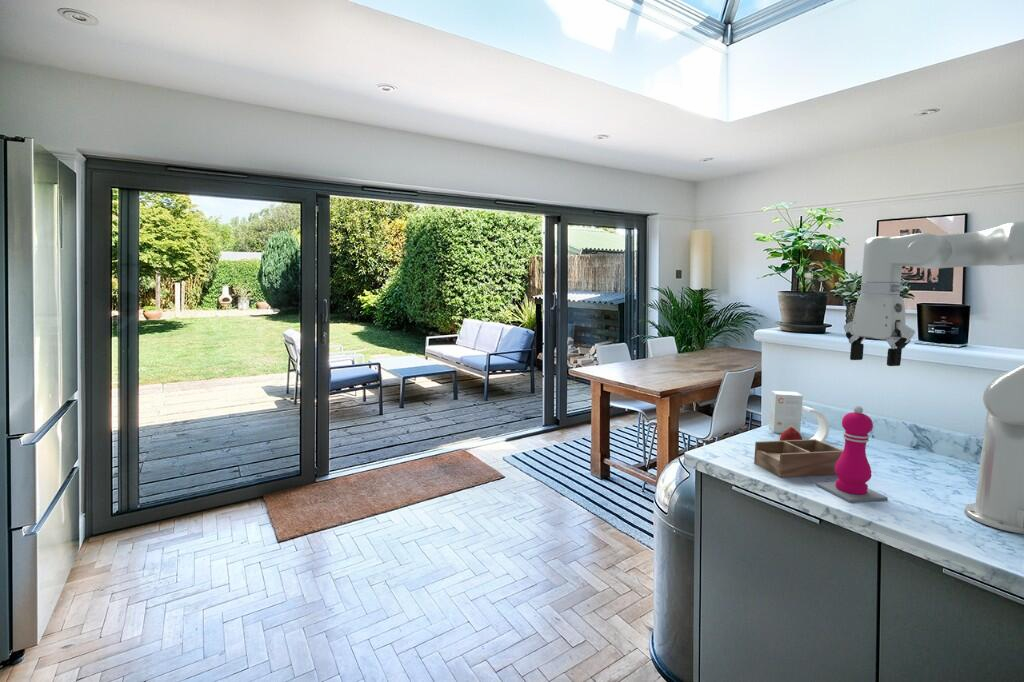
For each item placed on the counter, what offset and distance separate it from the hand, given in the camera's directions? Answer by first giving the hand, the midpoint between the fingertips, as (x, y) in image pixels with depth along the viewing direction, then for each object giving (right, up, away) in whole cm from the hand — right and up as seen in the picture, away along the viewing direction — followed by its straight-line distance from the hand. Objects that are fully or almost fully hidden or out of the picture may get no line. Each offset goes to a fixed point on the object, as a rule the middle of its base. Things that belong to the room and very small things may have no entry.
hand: (874, 362), depth 123 cm
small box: (+5, -25, +50) cm, 56 cm away
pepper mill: (-6, -30, -1) cm, 31 cm away
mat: (-6, -30, -1) cm, 31 cm away
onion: (-5, -27, +27) cm, 39 cm away
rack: (-10, -29, +14) cm, 34 cm away
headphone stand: (+5, -27, +33) cm, 43 cm away
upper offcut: (-15, -27, +13) cm, 34 cm away
